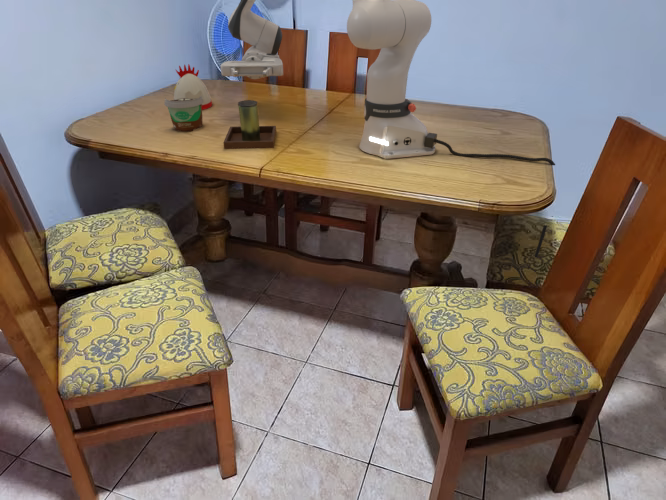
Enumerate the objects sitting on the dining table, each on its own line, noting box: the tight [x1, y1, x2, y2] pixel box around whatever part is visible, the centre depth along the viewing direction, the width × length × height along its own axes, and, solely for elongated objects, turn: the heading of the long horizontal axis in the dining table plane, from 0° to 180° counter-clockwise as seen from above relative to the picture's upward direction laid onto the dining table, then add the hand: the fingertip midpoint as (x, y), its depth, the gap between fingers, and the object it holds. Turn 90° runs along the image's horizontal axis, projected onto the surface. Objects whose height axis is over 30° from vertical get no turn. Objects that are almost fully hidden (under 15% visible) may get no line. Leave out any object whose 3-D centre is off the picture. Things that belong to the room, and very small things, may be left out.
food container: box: [164, 96, 204, 133], centre depth 150 cm, size 12×6×10 cm, turn 105°
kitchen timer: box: [173, 63, 213, 111], centre depth 172 cm, size 14×14×15 cm
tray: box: [223, 125, 277, 150], centre depth 143 cm, size 15×15×2 cm
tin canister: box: [237, 99, 261, 141], centre depth 140 cm, size 6×6×11 cm
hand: (250, 74), depth 145 cm, fingers open, 8 cm apart
